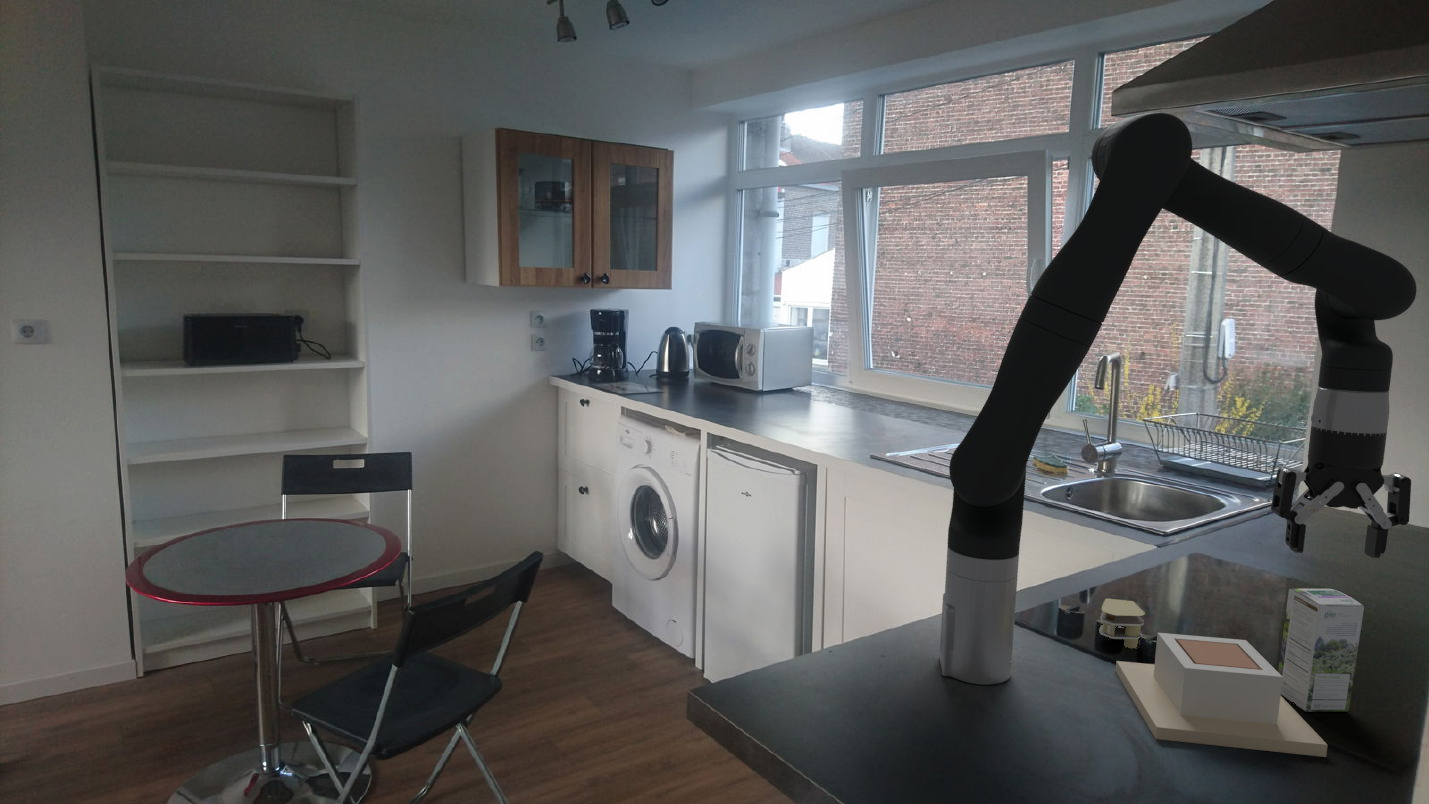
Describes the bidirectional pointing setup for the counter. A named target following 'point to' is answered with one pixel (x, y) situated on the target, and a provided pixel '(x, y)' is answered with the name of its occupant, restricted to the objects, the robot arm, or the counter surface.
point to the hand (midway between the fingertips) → (1333, 553)
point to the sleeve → (1216, 701)
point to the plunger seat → (1216, 654)
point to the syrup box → (1320, 649)
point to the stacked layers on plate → (1122, 621)
